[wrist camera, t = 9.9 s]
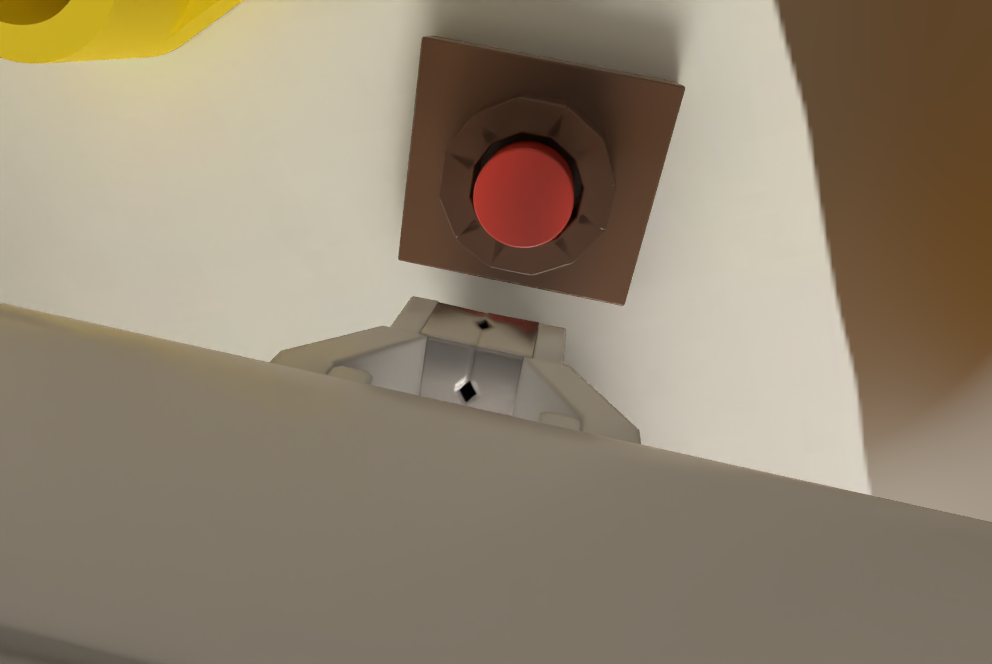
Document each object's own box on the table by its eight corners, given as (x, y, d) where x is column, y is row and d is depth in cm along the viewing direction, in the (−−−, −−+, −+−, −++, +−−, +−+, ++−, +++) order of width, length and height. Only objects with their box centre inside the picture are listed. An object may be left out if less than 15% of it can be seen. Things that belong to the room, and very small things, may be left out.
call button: (473, 225, 25) (465, 238, 24) (488, 131, 24) (481, 138, 22) (563, 243, 25) (561, 257, 24) (584, 150, 24) (584, 159, 22)
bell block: (408, 246, 30) (384, 276, 26) (432, 35, 26) (408, 36, 22) (621, 290, 29) (626, 326, 26) (678, 82, 25) (694, 90, 22)
